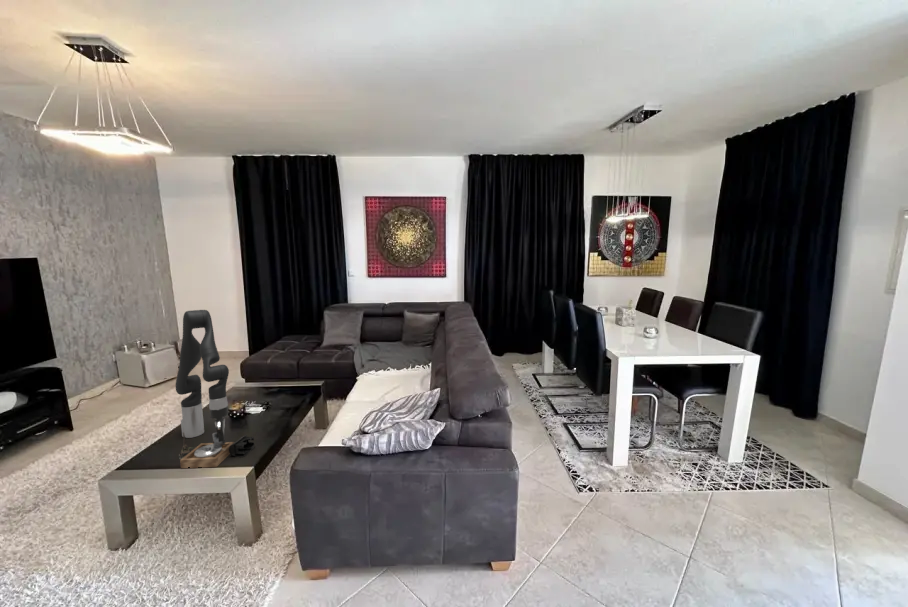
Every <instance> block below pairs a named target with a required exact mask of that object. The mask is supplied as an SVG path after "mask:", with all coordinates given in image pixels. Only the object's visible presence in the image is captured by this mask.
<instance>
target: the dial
mask: <svg viewBox="0 0 908 607" xmlns="http://www.w3.org/2000/svg"><path fill="white" fill-rule="evenodd" d="M211 435H212V443H213V444H210V445H206V446H203V447H201V448H199V449H197V450H196V451H195V452H194V456H195V458H210V457H215V456H217V455H218V454H219V453H220V452H221V451H222V446H223V445H225V442H226V438H225V436H224V441H222V442H219V439H218V435H217V431H216V432H213V433H212V434H211Z"/></svg>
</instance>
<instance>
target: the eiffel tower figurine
mask: <svg viewBox="0 0 908 607" xmlns="http://www.w3.org/2000/svg"><path fill="white" fill-rule="evenodd" d="M184 434H185V433H184V430H183V438H182V439H183V440H182V442H183V444H182V448H181V451H180V452H179V454H178V459H179V460H181V459H182V458H184V457H185V456H186V455H187V454H189V453H190V452H191V451H192V450H190V449H192V447H188V444H187V442H186V437H185V435H184Z"/></svg>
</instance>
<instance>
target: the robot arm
mask: <svg viewBox="0 0 908 607" xmlns="http://www.w3.org/2000/svg"><path fill="white" fill-rule="evenodd" d="M213 327H214V326H213V321H212V317H211V314H210V312H209V310H207V309H196V310H195V309H194V310H187V311H184V314H183V316H182V339H181V345H180V346H181V348H180V354H179V366H178V370H177V371H178V372H177V375H176V380H175V391H176V393H177V394H178V395H180V396H181V395H182V396H183V395H187V394H189V395H188V396H187V397H185V398H183V399H182V400H181V402H180V406H181V419H180V427H181V428H180V429H181V436H182V437H183V430H184V433H185V434H184V435H185V439H188V438H189V439H190V438H195V437H199V436H201V435H202V434H204V433H205V427H204V426H205V425H204V416H203V415H204V413H203V404H202V399H203V397H202V380H201V379H202V378H203V381H205V382H207V383H211V382H214V381H215V382H216V381H218V382H217V383H215V384H213V385H211V386H209V387H208V399H209V400H208V401H209V402H208V407H209V417H210V418H211V419H212V420H213V419H215V420H214V425H215V430H216V432H217V435H218V439H219V442H222V441H224V437H225V427H226V424H225V422H226V418H225V417H227V415H229V406H228V404H229V403H228V396H227V389H226V388H227V382H228V378H229V374H230V373H229V372H230V370H229V367H228V366H227V365H226V364H219V365H214V364H217V363H218V362H219V361H220V360H221V359H220V358H221V357H220V354H219V351H218V348H217V345H216V341H215V333H214V328H213ZM193 329H204V335H203V338H202V339H201V342H199V341H198V339H197V338H196V337H195V335H193ZM201 360H202V378H201V377H200V375H198V374H191V375H190V373H191V372H192V371H194V369H195V367H197V365H198V364H199V363H200V361H201ZM212 365H213V366H212Z"/></svg>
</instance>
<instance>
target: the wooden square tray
mask: <svg viewBox="0 0 908 607" xmlns="http://www.w3.org/2000/svg"><path fill="white" fill-rule="evenodd" d="M233 443H235V442H234V441H228V442H227V441H225V445H223V446H222V451H221V452H220V453H219V454H218V455H217V456H215V457H210V458H195V456H194V452H195V451H196V450H197V449H199V448H201V447H203V446H206V445H210V444H213V442H205V443H202V442H201V443H200V444H198V446H196V447H194V448H193V449H192V450H190V451H191V452H190V453H189V454H187V455H186V456H185V457H184V458H182V459H179V461H180V463H179V464H180V469H198V467H202V468H218V466H220V464H222V462H224V461H225V460H226V458H227V457H228V456H230V455H231V454H230V452H229V447H230V446H231V445H232V444H233ZM188 467H190V468H188Z"/></svg>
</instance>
